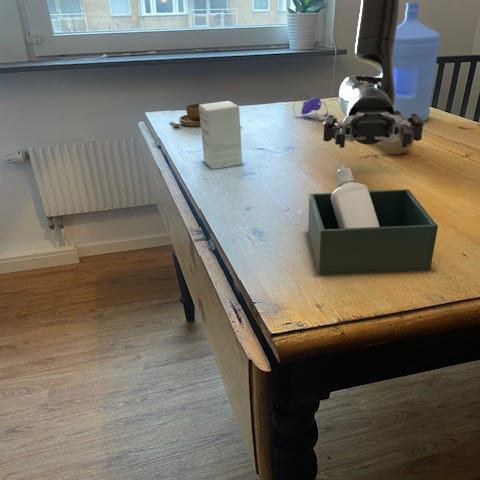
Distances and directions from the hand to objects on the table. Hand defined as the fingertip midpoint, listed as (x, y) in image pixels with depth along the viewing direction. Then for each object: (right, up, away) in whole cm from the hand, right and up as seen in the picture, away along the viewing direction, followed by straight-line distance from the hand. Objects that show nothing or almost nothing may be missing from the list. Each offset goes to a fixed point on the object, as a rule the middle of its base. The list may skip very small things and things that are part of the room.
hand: (373, 140), depth 70 cm
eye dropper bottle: (0, -13, +4) cm, 14 cm away
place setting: (-29, +32, +78) cm, 90 cm away
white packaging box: (-23, +11, +46) cm, 52 cm away
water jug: (+27, +32, +72) cm, 83 cm away
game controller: (+4, +35, +79) cm, 86 cm away
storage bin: (0, -15, +5) cm, 15 cm away
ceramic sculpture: (+17, +15, +49) cm, 54 cm away
